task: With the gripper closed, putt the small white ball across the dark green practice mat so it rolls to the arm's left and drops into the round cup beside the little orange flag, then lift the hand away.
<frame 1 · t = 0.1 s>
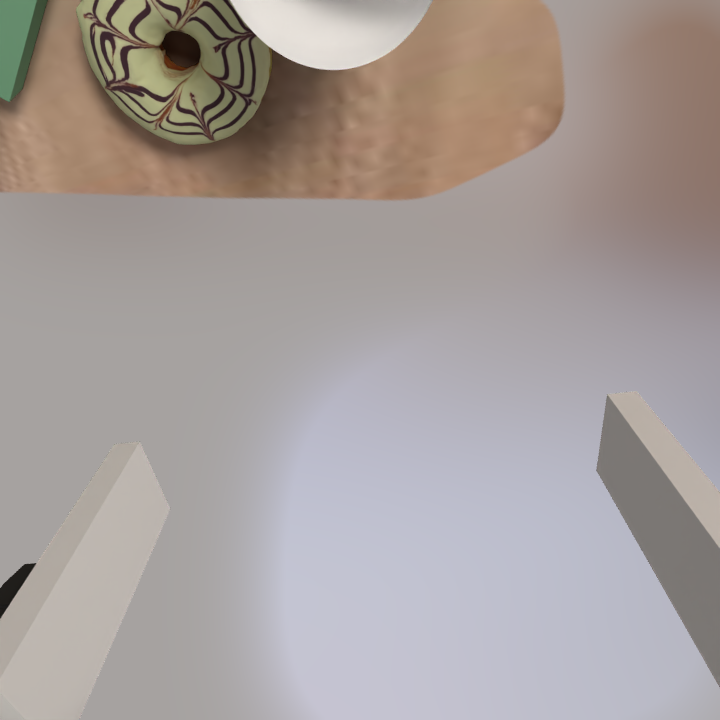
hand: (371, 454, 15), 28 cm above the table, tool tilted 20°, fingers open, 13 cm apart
decorated donut: (186, 37, 31), on the table
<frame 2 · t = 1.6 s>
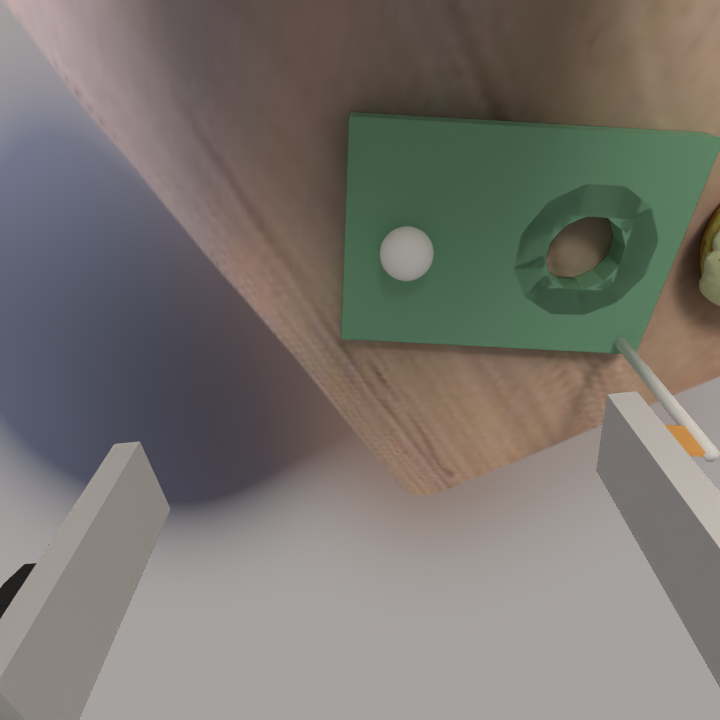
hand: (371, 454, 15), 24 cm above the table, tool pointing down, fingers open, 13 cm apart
ball: (406, 253, 32), point 4 cm above the table, touching green
green: (503, 240, 35), on the table
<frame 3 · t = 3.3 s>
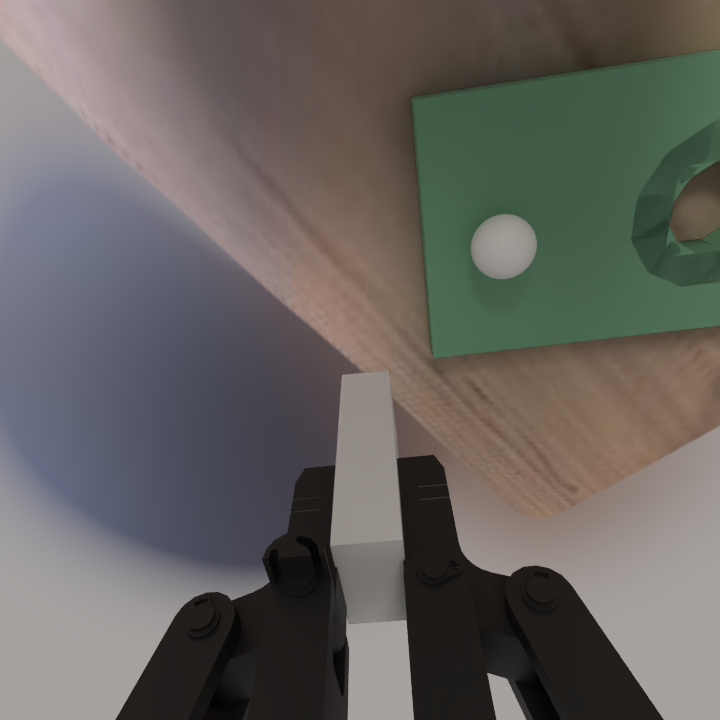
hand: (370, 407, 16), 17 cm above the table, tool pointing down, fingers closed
ball: (503, 247, 27), point 4 cm above the table, touching green
green: (609, 210, 30), on the table
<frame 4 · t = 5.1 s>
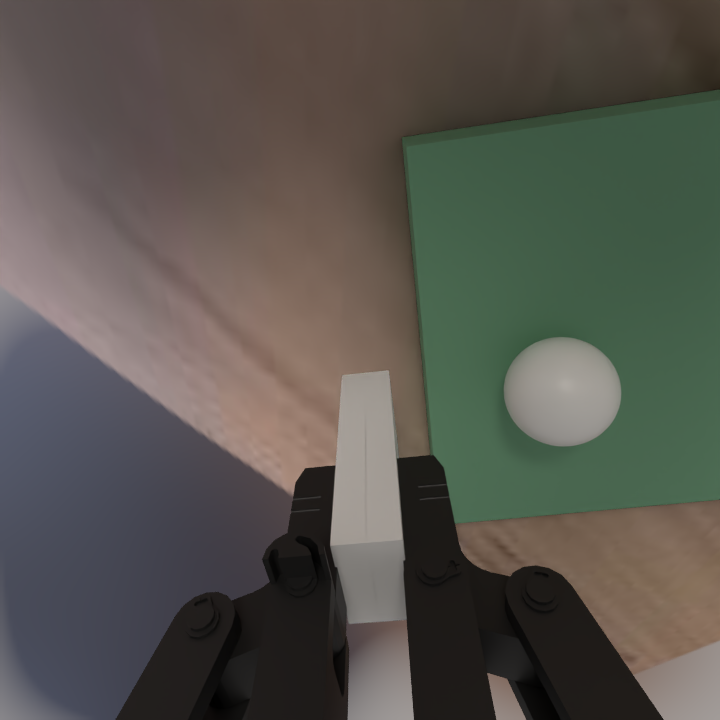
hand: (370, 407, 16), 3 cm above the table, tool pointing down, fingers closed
ball: (560, 391, 16), point 4 cm above the table, touching green
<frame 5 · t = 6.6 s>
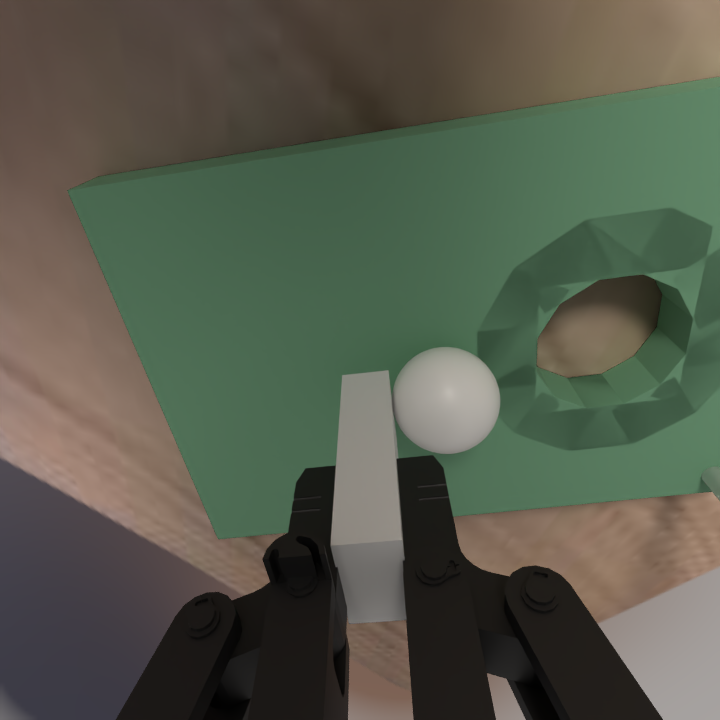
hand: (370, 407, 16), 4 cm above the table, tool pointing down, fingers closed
ball: (445, 399, 16), point 4 cm above the table, tilted 155°, touching green, gripper
green: (454, 336, 19), on the table
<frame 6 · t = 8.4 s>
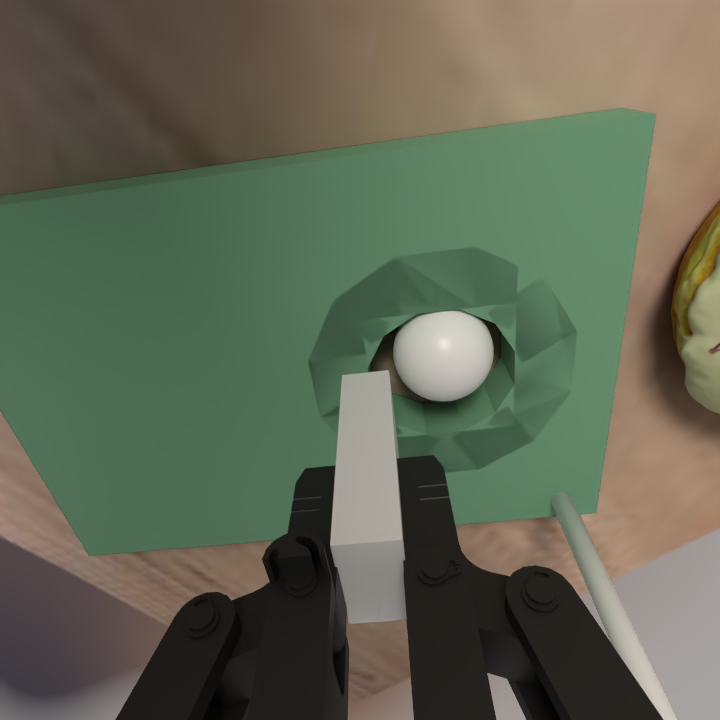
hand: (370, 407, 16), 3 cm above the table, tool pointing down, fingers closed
ball: (442, 352, 17), point 2 cm above the table, tilted 68°
green: (305, 362, 20), on the table
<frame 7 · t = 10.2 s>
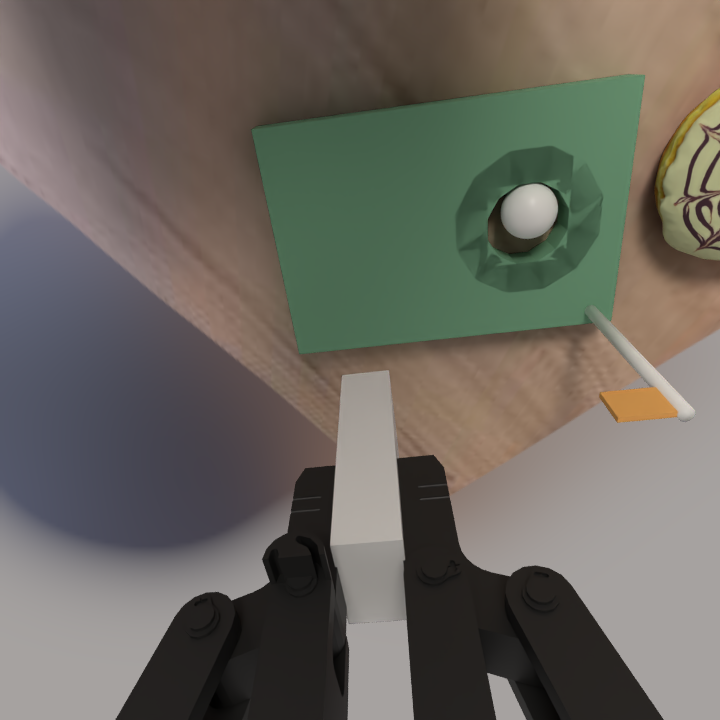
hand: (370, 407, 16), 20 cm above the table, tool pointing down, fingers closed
ball: (528, 211, 32), point 2 cm above the table, tilted 68°
green: (443, 225, 34), on the table
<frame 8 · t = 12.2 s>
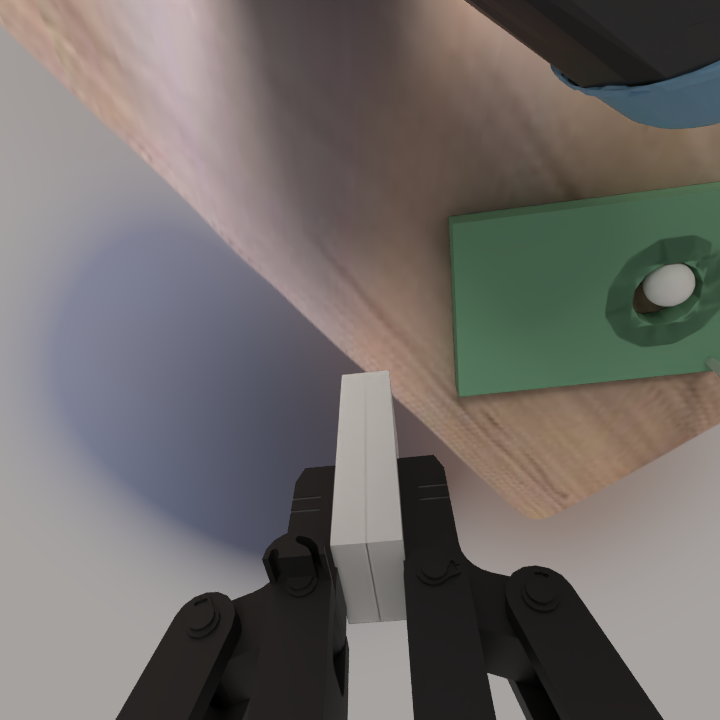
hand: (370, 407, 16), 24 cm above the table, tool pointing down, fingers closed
ball: (668, 284, 38), point 2 cm above the table, tilted 67°
green: (590, 292, 41), on the table
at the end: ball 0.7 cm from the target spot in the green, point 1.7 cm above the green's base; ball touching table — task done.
